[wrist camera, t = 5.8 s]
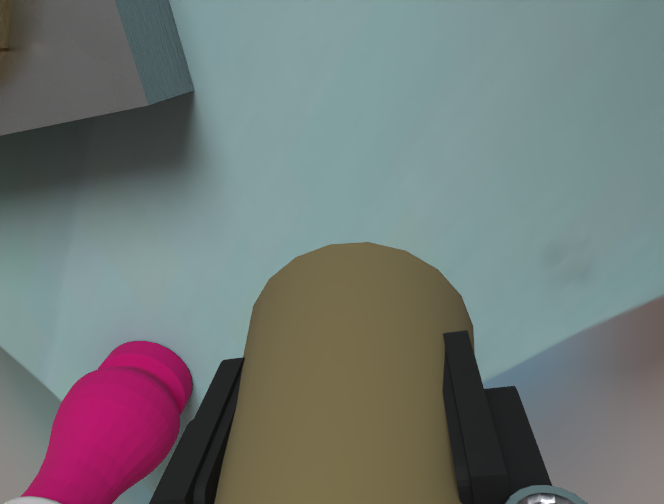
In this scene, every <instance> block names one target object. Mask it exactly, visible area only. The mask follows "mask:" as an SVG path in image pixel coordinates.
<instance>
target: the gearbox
mask: <svg viewBox="0 0 664 504" xmlns="http://www.w3.org/2000/svg"><path fill="white" fill-rule="evenodd" d="M191 91H194V88H193V84H192V81H191V77H190V74H189V70H188V67H187V63H186V60H185V56H184V53H183V49H182V46H181V42H180V39H179V35H178V32H177V28H176V25H175V21H174V18H173V14H172V11H171V7H170V4H169V0H0V136H1V135H6V134H11V133H16V132H21V131H26V130H31V129H35V128H40V127H45V126H50V125H55V124H60V123H65V122H70V121H75V120H80V119H85V118H90V117H94V116H99V115H104V114H109V113H114V112H119V111H124V110H129V109H134V108H139V107H144V106H148V105H152V104H155V103H158V102H161V101H164V100H167V99H170V98H173V97H176V96H179V95H182V94H185V93H188V92H191Z"/></svg>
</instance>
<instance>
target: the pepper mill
mask: <svg viewBox="0 0 664 504" xmlns="http://www.w3.org/2000/svg"><path fill="white" fill-rule="evenodd" d="M191 392H192V379H191V375H190V373H189V370H188V368H187V366H186V365H185V363H184V362H183V361H182V360H181V358H180V357H179V356H177V355H176V354H175V353H174V352H172V351H171V350H170V349H168V348H166V347H164V346H162V345H159V344H157V343H152V342H147V341H132V342H128V343H125V344H122V345H120V346H118V347H117V348H116V349H114V350H113V351H112V352H111V353H110V355H109V356H108V357H107V358H106V359H105V361H104V362H103V363H102V364H101V366H100V367H99V368H98V370H95V371H93V372H91V373H88V374H86V375H85V376H83V377H82V378H81V379H79V380H78V381H77V382H76V383H75V384H74V385H73V386H72V388H71V389H70V391H69V392H68V394H67V395H66V396H65V398H64V399H63V401H62V403H61V405H60V407H59V410H58V412H57V415H56V417H55V419H54V422H53V426H52V431H51V436H50V441H49V446H48V450H47V453H46V457H45V459H44V462H43V464H42V466H41V468H40V471H39V473H38V475H37V476H36V478H35V479H34V480H33V482H32V483H31V485H30V486H29V488H28V489H27V490H26V491H25V492H24V494H23V495H22V496H21V497H18V498H14V499H12V500H9V501H7V502H5V503H4V504H112V503H113V502H114V501H115V500H116V499H117V498H118V497H119V495H121V494H122V493H123V492H124V491H126V490H127V489H128V488H130V487H131V486H133V485H134V484H135V483H137V482H138V481H140V480H141V479H143V478H144V477H145V476H147V475H148V474H149V473H151V472H152V471H153V470H154V469H155V468H156V467H157V466H158V465H159V464H160V463H161V462H162V461H163V460H164V458H165V457H166V456H167V454H168V453H169V451H170V450H171V448H172V446H173V445H174V443H175V441H176V439H177V436H178V433H179V426H180V414H181V413H182V411H183V409H184V407H185V405H186V403H187V401H188V399H189V397H190V395H191Z"/></svg>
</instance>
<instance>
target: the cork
mask: <svg viewBox="0 0 664 504" xmlns="http://www.w3.org/2000/svg"><path fill="white" fill-rule="evenodd" d="M464 330H467V331H468V333H469V337H470V341H471V344H472V348H473V352H474V335H473V325H472V322H471V320H470V317H469V314H468V312H467V309H466V307H465V304H464V302H463V299H462V296H461V295H460V294H459V293H458V292H457V290H456V289H455V288H454V287H453V286H452V285H451V284H450V283H449V281H448V280H447V279H446V278H445V277H444V276H443V275H442V273H441V272H440V271H439V270H438V269H436V268H434V267H433V266H431V265H429V264H427V263H426V262H424V261H422V260H421V259H419V258H417V257H415V256H414V255H412V254H410V253H409V252H407V251H404V250H400V249H395V248H391V247H387V246H382V245H378V244H374V243H369V242H364V243H348V244H331V245H328V246H325V247H322V248H320V249H317V250H314V251H312V252H309V253H306V254H304V255H301V256H298V257H296V258H295V259H293V260H292V261H291V262H290V263H288V264H287V265H286V266H285V267H283V268H282V269H281V270H280V271H278V272H277V273H276V274H275V275H274V276H272V277H271V278H270V279H269V280H268V282H267V284H266V285H265V287H264V289H263V290H262V292H261V294H260V295H259V297H258V299H257V301H256V302H255V304H254V306H253V310H252V315H251V320H250V326H249V331H248V336H247V341H246V346H245V351H244V356H243V358H244V357H245V360H244V364H243V366H242V373H241V380H240V387H239V394H238V401H237V406H236V410H235V414H234V418H233V422H232V426H231V430H230V434H229V438H228V442H227V446H226V450H225V454H224V458H223V462H222V467H221V472H220V477H219V482H218V488H217V493H216V498H215V503H214V504H462V503H461V502H460V500H459V493H458V487H457V481H456V474H455V468H454V462H453V455H452V449H451V443H450V436H449V430H448V424H447V417H446V411H445V405H444V398H443V392H442V389H443V374H444V359H445V342H444V336H443V333H447V332H456V331H464Z"/></svg>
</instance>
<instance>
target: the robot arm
mask: <svg viewBox="0 0 664 504" xmlns="http://www.w3.org/2000/svg"><path fill="white" fill-rule="evenodd" d="M443 336H444V342H445V359H444V374H443V389H442V392H443V398H444V405H445V411H446V417H447V424H448V430H449V436H450V443H451V449H452V455H453V462H454V468H455V474H456V481H457V487H458V493H459V500H460V502H461V503H462V504H588V503H586V502H585V501H584V500H582V499H581V498H580V497H578V496H577V495H576V494H574V493H571V492H569V491H567V490H565V489H562V488H559V487H554V486H552V484H551V482H550V479H549V476H548V473H547V470H546V468H545V465H544V462H543V460H542V457H541V454H540V451H539V449H538V446H537V443H536V440H535V438H534V435H533V432H532V430H531V427H530V424H529V421H528V418H527V416H526V413H525V410H524V407H523V405H522V402H521V399H520V397H519V394H518V391H517V389H516V387H515V386H510V387H501V388H490V389H484V388H483V384H482V381H481V377H480V373H479V370H478V366H477V363H476V359H475V355H474V352H473V348H472V344H471V341H470V337H469V333H468V331H467V330H464V331H456V332H447V333H443ZM244 360H245V357H244V358H236V359H228V360H223V361H222V362H221V364H220V366H219V368H218V370H217V372H216V374H215V376H214V378H213V380H212V382H211V384H210V387H209V389H208V391H207V393H206V395H205V397H204V399H203V401H202V403H201V405H200V407H199V410H198V412H197V414H196V416H195V418H194V419H193V420H192V421H190V422H189V424H188V425H187V427H186V429H185V431H184V433H183V435H182V437H181V439H180V441H179V443H178V445H177V447H176V449H175V451H174V453H173V456H172V458H171V460H170V462H169V464H168V466H167V468H166V470H165V472H164V474H163V476H162V478H161V480H160V482H159V484H158V486H157V488H156V490H155V492H154V495H153V497H152V499H151V501H150V503H149V504H214V503H215V498H216V493H217V488H218V482H219V477H220V472H221V467H222V462H223V458H224V454H225V450H226V446H227V442H228V438H229V434H230V430H231V426H232V422H233V418H234V414H235V410H236V406H237V401H238V394H239V387H240V380H241V373H242V366H243V364H244Z"/></svg>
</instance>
